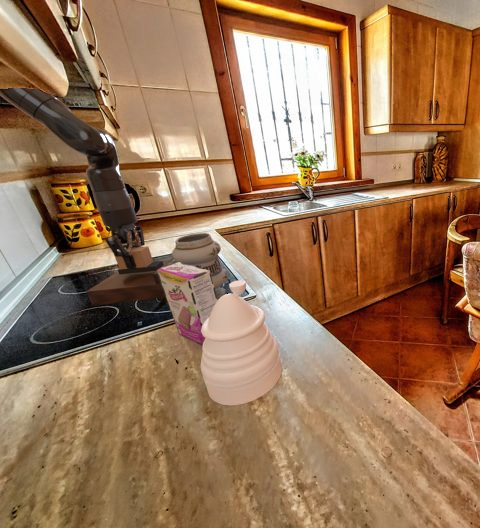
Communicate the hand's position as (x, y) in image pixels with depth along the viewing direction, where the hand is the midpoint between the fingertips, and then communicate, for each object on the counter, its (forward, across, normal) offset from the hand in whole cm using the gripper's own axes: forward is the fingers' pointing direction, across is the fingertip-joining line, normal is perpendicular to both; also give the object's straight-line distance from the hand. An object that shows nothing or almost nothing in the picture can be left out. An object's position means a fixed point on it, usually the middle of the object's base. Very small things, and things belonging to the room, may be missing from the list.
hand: (136, 264), depth 82 cm
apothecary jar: (+9, +9, +21) cm, 25 cm away
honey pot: (+9, +44, +37) cm, 58 cm away
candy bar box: (+9, +29, +25) cm, 39 cm away
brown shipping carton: (+2, 0, +1) cm, 2 cm away
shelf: (+9, 0, +1) cm, 9 cm away
